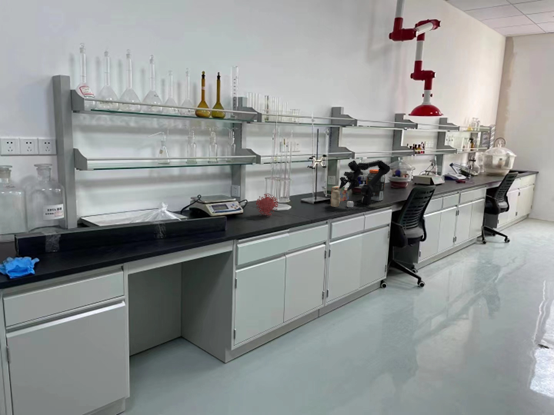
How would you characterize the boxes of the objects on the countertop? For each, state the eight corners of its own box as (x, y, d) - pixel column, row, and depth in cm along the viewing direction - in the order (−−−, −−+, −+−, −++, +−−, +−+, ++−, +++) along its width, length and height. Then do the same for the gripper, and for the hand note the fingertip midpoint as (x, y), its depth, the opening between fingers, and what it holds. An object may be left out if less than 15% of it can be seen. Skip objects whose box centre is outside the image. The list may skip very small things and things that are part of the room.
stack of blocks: (342, 198, 364) (343, 184, 361) (348, 199, 360) (350, 185, 358) (330, 201, 347) (331, 186, 344) (337, 202, 343) (338, 187, 341)
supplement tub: (386, 201, 361) (389, 171, 356) (369, 201, 357) (372, 170, 352) (378, 197, 376) (380, 169, 371) (362, 197, 372) (364, 168, 367)
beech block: (335, 205, 329) (336, 190, 327) (338, 206, 325) (340, 191, 323) (330, 205, 327) (331, 190, 324) (334, 206, 323) (335, 191, 320)
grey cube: (351, 206, 329) (352, 201, 328) (353, 207, 325) (353, 202, 324) (346, 206, 328) (347, 201, 327) (348, 207, 324) (348, 202, 324)
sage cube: (339, 203, 339) (339, 198, 338) (338, 204, 334) (338, 199, 333) (333, 202, 340) (333, 198, 340) (332, 203, 336) (332, 199, 335)
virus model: (282, 216, 280) (283, 194, 277) (265, 218, 270) (266, 196, 268) (267, 212, 291) (268, 191, 288) (251, 214, 281) (252, 192, 278)
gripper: (342, 166, 334) (330, 180, 331) (358, 169, 319) (346, 184, 315) (349, 176, 340) (337, 190, 336) (365, 179, 324) (353, 193, 321)
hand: (343, 189), depth 327 cm, fingers open, 9 cm apart
